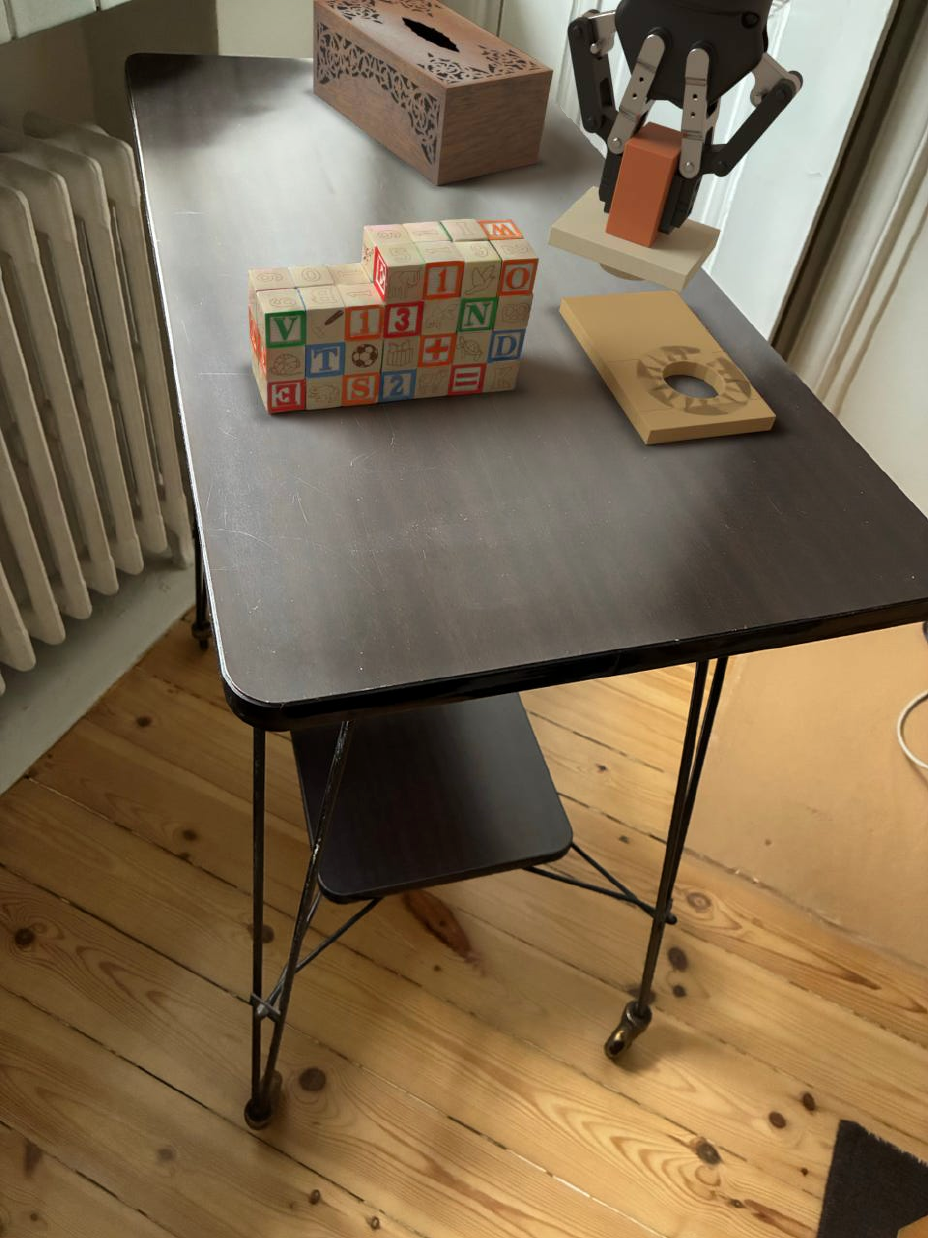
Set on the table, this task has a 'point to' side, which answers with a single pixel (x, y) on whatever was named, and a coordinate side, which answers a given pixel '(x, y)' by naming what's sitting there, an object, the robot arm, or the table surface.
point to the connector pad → (629, 256)
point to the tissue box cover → (430, 85)
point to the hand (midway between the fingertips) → (641, 217)
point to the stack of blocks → (395, 317)
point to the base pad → (663, 366)
